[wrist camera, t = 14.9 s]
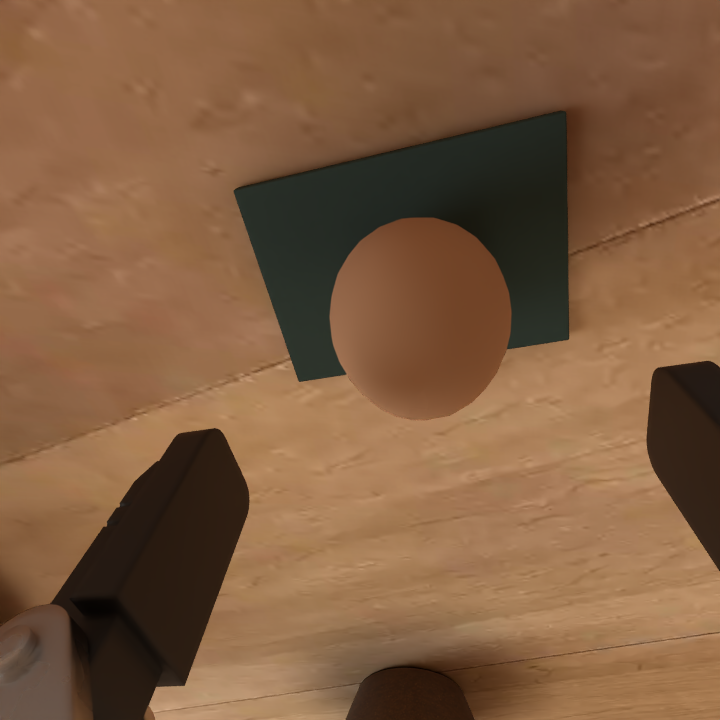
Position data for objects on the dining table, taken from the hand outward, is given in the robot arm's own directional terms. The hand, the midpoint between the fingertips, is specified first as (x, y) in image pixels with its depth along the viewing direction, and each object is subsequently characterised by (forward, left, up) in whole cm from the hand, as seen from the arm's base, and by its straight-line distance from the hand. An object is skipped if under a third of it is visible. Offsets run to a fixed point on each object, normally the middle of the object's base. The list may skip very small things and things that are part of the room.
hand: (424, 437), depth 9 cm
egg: (0, 0, -10) cm, 10 cm away
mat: (0, 0, -10) cm, 10 cm away
